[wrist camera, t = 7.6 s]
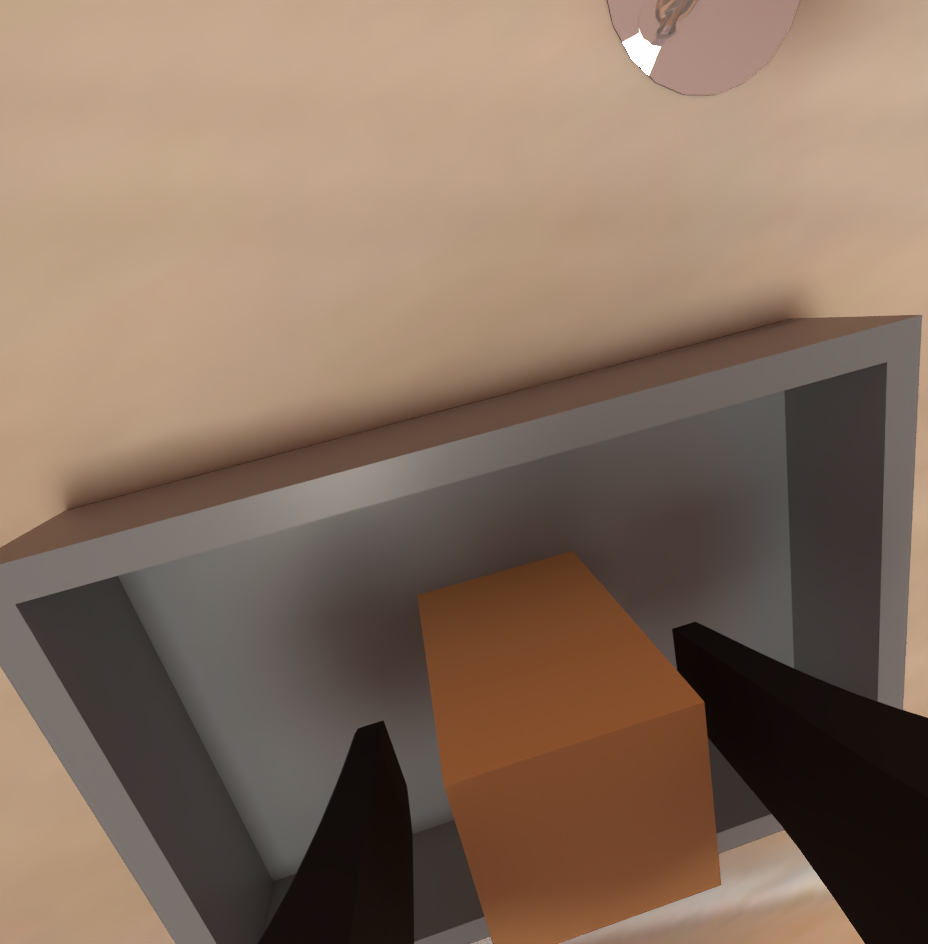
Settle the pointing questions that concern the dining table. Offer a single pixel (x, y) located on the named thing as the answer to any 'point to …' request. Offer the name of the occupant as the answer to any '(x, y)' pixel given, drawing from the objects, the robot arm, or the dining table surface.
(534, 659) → the orange block
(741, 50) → the wineglass
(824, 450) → the serving tray
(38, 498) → the dining table surface
